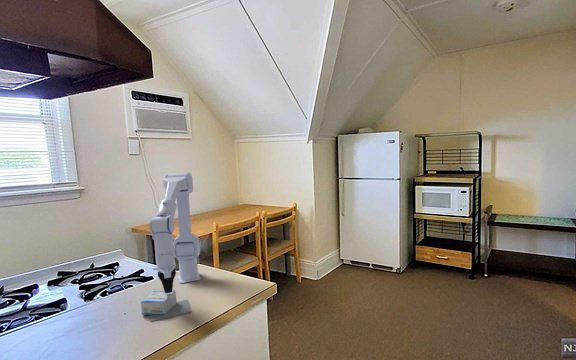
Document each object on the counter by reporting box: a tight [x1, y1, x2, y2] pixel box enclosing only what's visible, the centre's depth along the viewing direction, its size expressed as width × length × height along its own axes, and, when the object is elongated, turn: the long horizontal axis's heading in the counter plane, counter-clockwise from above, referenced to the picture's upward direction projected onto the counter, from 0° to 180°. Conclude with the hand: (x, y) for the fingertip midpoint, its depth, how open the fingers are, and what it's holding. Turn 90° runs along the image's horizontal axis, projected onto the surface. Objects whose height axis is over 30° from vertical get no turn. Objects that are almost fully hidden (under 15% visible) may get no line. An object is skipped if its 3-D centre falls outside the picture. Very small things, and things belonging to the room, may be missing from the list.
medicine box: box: [140, 290, 178, 316], centre depth 108 cm, size 8×4×9 cm
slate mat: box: [150, 299, 192, 323], centre depth 107 cm, size 10×12×1 cm
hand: (168, 292), depth 109 cm, fingers closed
